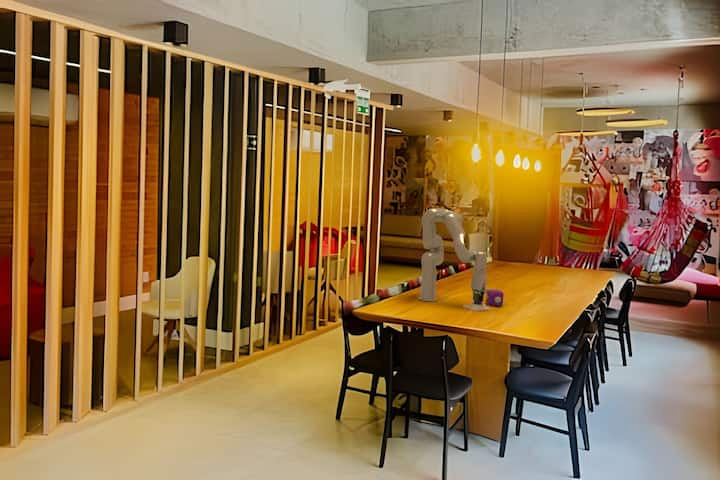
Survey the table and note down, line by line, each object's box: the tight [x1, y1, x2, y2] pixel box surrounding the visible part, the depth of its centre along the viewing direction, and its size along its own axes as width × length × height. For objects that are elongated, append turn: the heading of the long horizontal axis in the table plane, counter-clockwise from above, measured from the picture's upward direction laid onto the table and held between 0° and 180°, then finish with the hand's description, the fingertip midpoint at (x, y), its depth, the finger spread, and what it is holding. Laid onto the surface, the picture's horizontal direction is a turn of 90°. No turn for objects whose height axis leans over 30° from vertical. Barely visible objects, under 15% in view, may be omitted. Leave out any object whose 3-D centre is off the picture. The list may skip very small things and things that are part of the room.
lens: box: [473, 290, 483, 304], centre depth 389 cm, size 5×5×8 cm
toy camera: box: [485, 288, 504, 307], centre depth 404 cm, size 11×14×10 cm
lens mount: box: [463, 301, 492, 312], centre depth 390 cm, size 12×12×3 cm
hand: (478, 300), depth 389 cm, fingers closed on lens, 5 cm apart
